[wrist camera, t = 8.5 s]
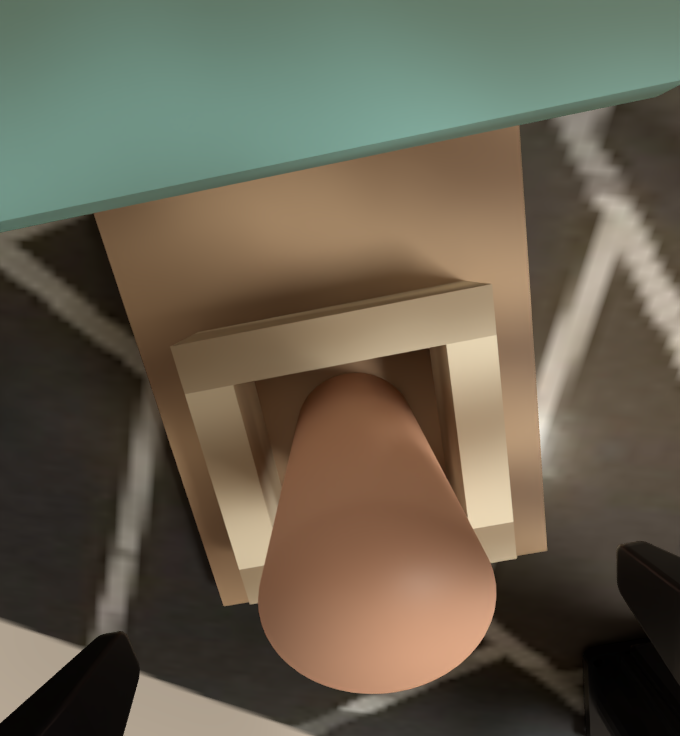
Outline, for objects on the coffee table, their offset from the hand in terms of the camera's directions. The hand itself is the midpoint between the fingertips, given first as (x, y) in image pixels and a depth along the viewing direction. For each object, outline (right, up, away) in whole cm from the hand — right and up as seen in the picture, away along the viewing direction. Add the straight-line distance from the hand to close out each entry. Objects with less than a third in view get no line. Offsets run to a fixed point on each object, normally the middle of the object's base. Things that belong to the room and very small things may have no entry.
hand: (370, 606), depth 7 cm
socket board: (-1, +5, +8) cm, 10 cm away
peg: (0, +2, +8) cm, 8 cm away
